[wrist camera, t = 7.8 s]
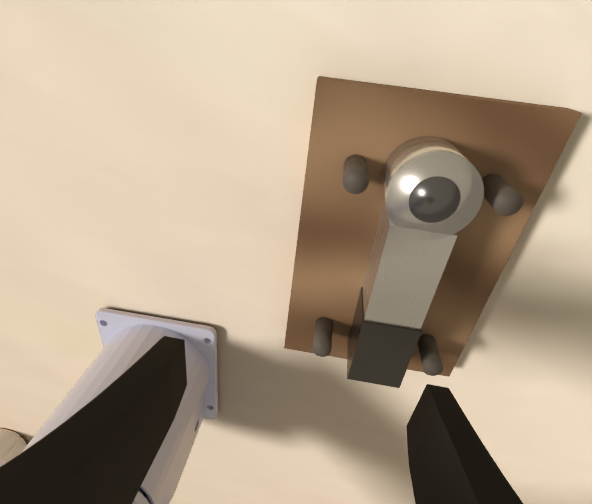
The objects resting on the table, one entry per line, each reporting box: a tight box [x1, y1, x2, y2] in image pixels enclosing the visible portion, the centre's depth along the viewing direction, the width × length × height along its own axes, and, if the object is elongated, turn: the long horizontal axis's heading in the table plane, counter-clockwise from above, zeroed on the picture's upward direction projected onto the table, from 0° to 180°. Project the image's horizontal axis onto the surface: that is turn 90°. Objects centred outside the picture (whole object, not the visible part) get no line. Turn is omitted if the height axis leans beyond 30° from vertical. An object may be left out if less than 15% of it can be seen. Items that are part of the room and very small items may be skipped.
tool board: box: [284, 76, 581, 376], centre depth 17 cm, size 15×10×3 cm, turn 174°
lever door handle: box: [347, 136, 484, 388], centre depth 16 cm, size 12×3×3 cm, turn 174°
